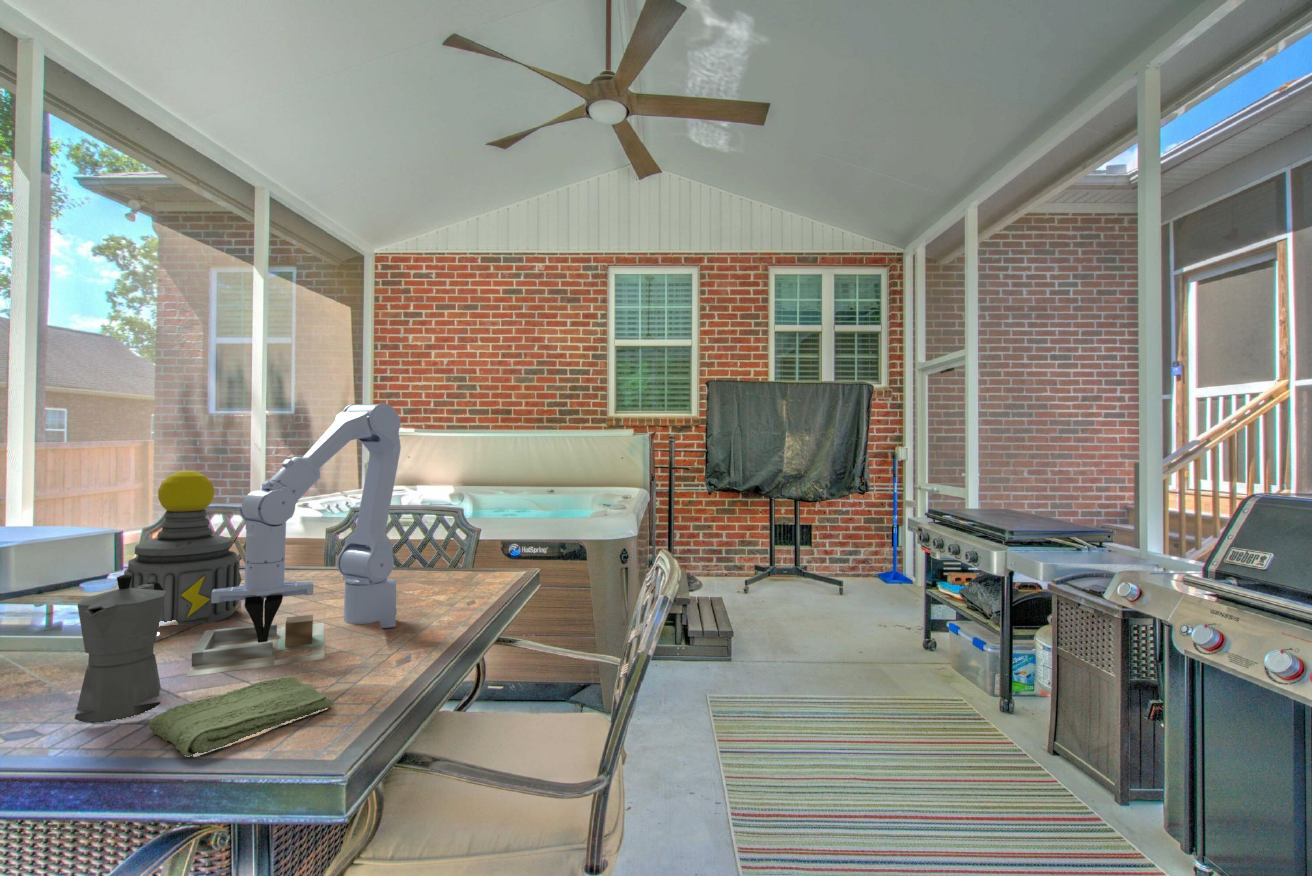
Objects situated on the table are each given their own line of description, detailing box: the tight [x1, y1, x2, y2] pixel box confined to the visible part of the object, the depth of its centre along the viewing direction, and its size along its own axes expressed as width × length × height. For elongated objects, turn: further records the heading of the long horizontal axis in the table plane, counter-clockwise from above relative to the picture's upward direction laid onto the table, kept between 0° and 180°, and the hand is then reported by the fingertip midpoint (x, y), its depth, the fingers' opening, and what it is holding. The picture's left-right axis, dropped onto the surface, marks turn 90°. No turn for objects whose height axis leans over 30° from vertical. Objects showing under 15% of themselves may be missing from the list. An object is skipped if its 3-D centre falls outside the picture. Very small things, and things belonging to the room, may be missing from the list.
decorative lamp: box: [123, 470, 242, 627], centre depth 124 cm, size 19×19×30 cm
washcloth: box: [148, 676, 335, 756], centre depth 80 cm, size 13×18×3 cm
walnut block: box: [285, 614, 314, 647], centre depth 107 cm, size 4×4×4 cm
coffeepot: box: [74, 574, 166, 724], centre depth 84 cm, size 15×9×18 cm, turn 13°
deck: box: [185, 622, 326, 678], centre depth 104 cm, size 18×22×4 cm
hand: (263, 640), depth 104 cm, fingers closed
